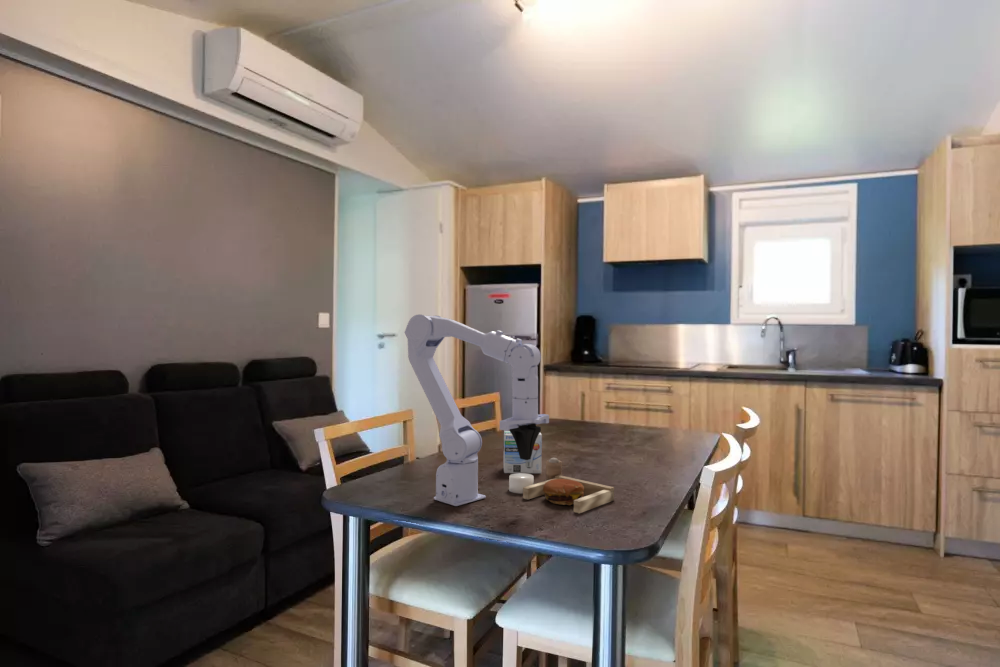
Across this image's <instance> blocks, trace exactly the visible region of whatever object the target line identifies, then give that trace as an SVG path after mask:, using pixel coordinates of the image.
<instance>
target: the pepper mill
mask: <svg viewBox="0 0 1000 667" xmlns="http://www.w3.org/2000/svg"><path fill="white" fill-rule="evenodd" d="M558 475H561V476H563V461H561V460H559V459H558V458H557V457H551V458H549V459H548V460H545V481H547V480H551V479H554V478H555V476H558Z"/></svg>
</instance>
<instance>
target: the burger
mask: <svg viewBox="0 0 1000 667" xmlns="http://www.w3.org/2000/svg"><path fill="white" fill-rule="evenodd" d="M543 491H544V492H545V494H544V497H545V499H546V501H549V502H550V503H552V504H554V505H559V506H560V505H562V506H565V505H567V506H572V505H574V500H576V499H579V498H582V497H585V495H584V492H583V491H584V486H583V485H582V484H581V483H579V482H577V481H574V480H569V479H553V480H550V481H548V482H546V483H545V484H544V486H543Z"/></svg>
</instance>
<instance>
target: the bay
mask: <svg viewBox="0 0 1000 667" xmlns="http://www.w3.org/2000/svg"><path fill="white" fill-rule="evenodd" d="M554 479H569V480H574V481H577V482H579V483H581V484H582V485H583V486H584V491H583V492H584V497H582V498H579V499H576V500H574V504H573V513H576V514H582V513H585V512H588V511H590V510H593V509H595V508H598V507H600V506H603V505H606V504H608V503H610V502H613V501H615V487H614V486H609V485H606V484H601V483H596V482H591V481H588V480H583V479H578V478H574V477H570V476H564V475H562V476H561V475H558V476H555V478H554ZM551 480H553V479H551ZM548 481H550V480H547V481H546V480H545V481H540V482H538V483H534V485H530V486H527V487H523V494H522V498H523V499H524V500H530V499H534V498H537V497H540V496H541V497H542V496H545V492H544V491H543V486H544V484H545V483H546V482H548Z"/></svg>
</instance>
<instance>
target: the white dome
mask: <svg viewBox="0 0 1000 667" xmlns="http://www.w3.org/2000/svg"><path fill="white" fill-rule="evenodd" d="M508 478H509V479H508V480H509V482H508V490H509V492H510V493H513V494H521V495H523V487H527V486H530V485H534V484H535V482H534V481H535V480H534V478H535V477H534V475H533V474H532V473H510V475H509V477H508Z"/></svg>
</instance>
